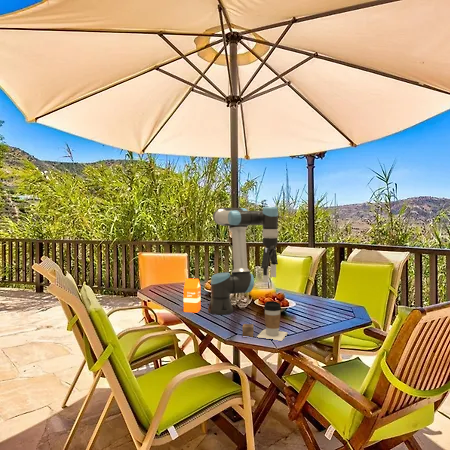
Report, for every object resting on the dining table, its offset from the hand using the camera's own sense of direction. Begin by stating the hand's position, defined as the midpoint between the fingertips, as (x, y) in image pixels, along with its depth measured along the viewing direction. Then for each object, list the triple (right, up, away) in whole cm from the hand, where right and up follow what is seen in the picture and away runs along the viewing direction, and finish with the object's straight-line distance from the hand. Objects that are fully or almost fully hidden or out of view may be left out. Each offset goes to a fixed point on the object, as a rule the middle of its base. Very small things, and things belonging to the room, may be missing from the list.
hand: (269, 279), depth 168 cm
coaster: (0, -26, -8) cm, 27 cm away
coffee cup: (0, -26, -8) cm, 27 cm away
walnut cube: (-11, -26, -7) cm, 29 cm away
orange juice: (-43, -26, +38) cm, 63 cm away
